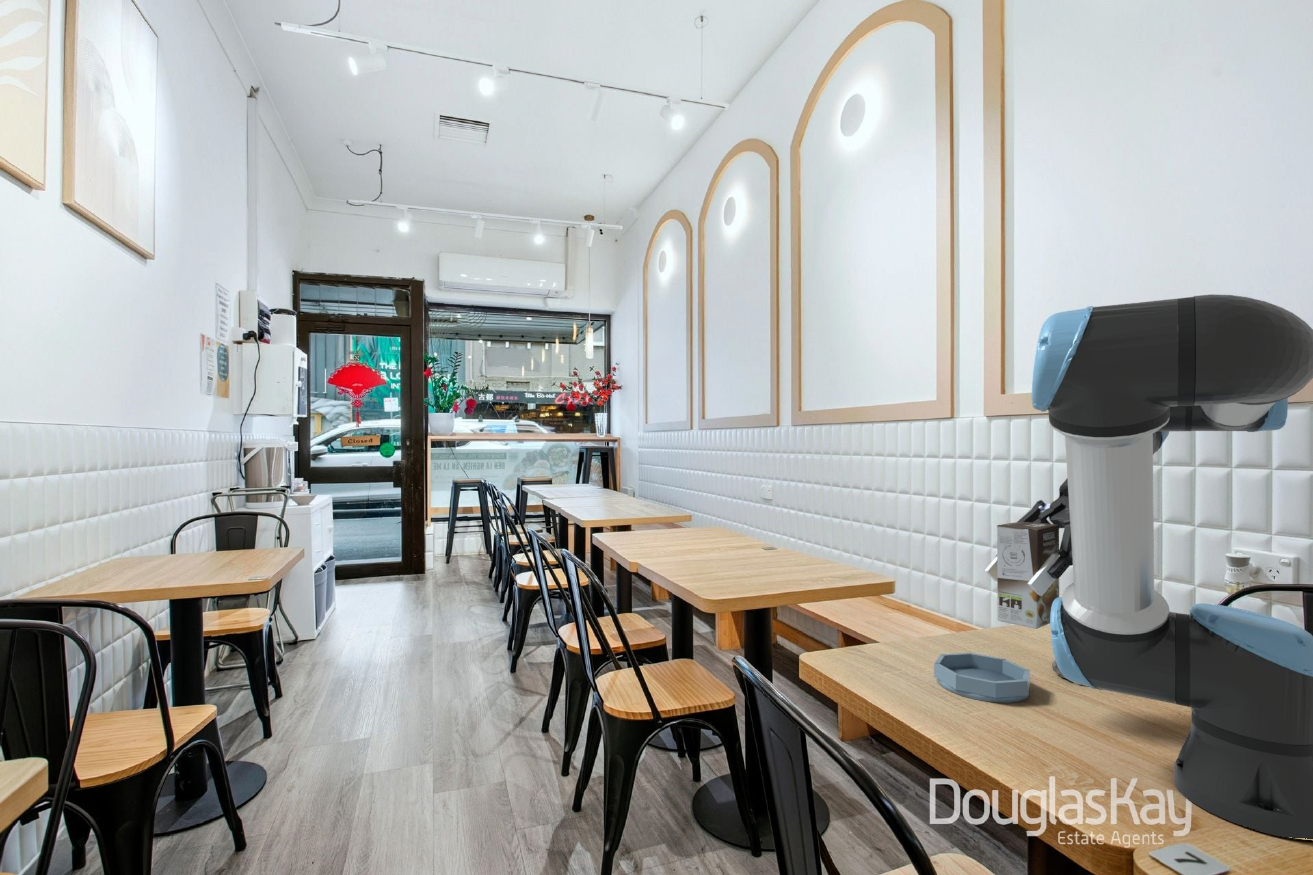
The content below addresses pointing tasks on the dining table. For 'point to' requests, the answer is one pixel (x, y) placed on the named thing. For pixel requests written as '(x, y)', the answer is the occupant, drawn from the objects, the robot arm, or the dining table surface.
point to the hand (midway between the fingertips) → (1011, 582)
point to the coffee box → (1024, 572)
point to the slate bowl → (982, 677)
